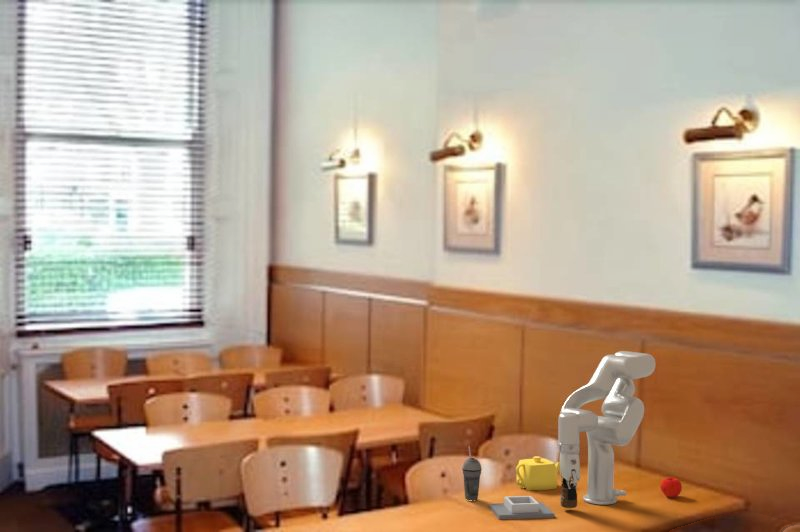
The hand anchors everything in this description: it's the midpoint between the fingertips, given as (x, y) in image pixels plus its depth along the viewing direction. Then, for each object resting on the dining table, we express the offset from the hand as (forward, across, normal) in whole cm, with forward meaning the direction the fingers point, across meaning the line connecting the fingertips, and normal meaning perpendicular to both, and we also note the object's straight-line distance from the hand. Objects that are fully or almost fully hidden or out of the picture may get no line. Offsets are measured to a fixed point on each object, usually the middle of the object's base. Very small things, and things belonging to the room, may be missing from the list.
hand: (568, 496), depth 349 cm
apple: (+7, +13, -45) cm, 47 cm away
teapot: (+6, +33, +1) cm, 34 cm away
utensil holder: (+4, 0, 0) cm, 4 cm away
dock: (+5, -1, +18) cm, 19 cm away
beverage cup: (+5, +17, +32) cm, 37 cm away
